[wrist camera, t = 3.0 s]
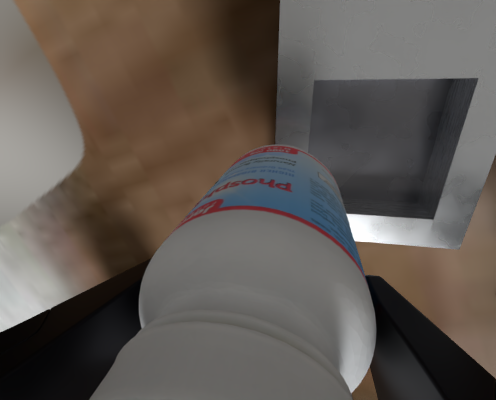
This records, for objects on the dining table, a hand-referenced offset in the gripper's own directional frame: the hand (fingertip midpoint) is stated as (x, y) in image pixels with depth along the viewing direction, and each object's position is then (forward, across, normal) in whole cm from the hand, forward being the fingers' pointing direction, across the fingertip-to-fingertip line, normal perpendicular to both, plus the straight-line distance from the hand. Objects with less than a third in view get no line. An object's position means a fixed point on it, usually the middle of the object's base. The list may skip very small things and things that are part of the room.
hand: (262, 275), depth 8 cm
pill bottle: (+6, 0, 0) cm, 6 cm away
